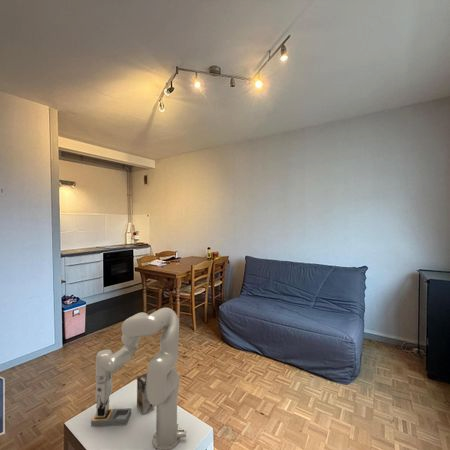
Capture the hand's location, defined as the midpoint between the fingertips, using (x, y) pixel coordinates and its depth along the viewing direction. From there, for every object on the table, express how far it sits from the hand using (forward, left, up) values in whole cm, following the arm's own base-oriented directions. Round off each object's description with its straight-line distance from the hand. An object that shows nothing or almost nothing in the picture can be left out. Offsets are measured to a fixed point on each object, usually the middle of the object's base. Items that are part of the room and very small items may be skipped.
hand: (103, 411), depth 125 cm
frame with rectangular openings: (-4, 0, -4) cm, 6 cm away
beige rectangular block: (+1, 0, -3) cm, 3 cm away
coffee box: (-19, -8, -5) cm, 21 cm away
